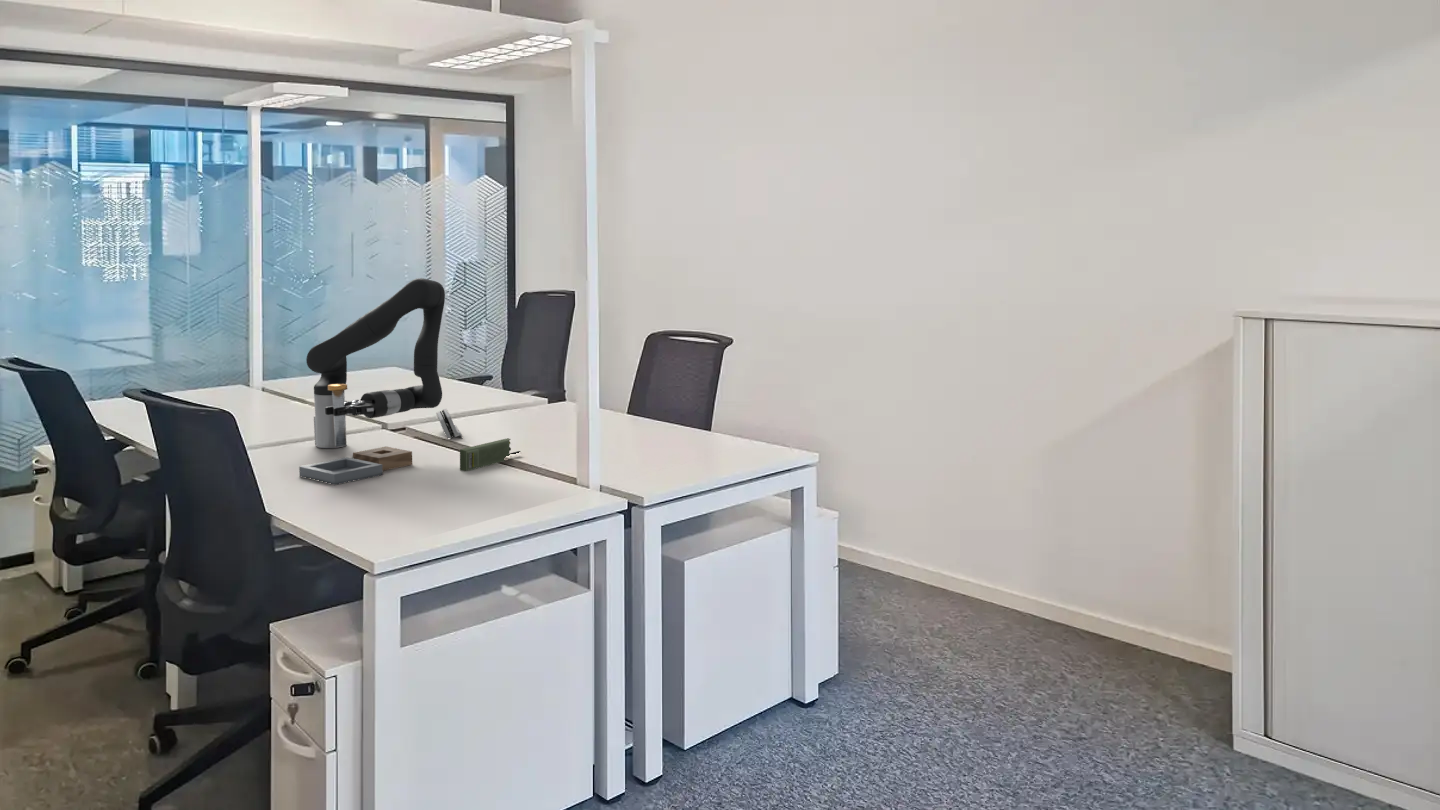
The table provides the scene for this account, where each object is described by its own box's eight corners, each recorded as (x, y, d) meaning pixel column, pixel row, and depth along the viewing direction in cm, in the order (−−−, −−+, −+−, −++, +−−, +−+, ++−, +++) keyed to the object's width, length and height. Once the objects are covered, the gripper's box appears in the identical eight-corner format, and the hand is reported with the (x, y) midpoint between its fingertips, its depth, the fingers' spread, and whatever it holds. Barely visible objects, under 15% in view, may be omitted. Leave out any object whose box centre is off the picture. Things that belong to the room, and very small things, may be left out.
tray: (299, 476, 304) (299, 466, 303) (347, 467, 317) (347, 457, 316) (334, 485, 295) (334, 474, 294) (382, 474, 308) (382, 464, 307)
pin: (327, 445, 303) (323, 385, 301) (343, 442, 308) (339, 383, 305) (338, 447, 301) (335, 387, 298) (354, 444, 305) (351, 384, 302)
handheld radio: (457, 470, 315) (515, 456, 336) (466, 472, 313) (523, 457, 335) (458, 448, 314) (515, 435, 335) (466, 450, 312) (523, 436, 333)
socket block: (353, 465, 318) (352, 452, 318) (386, 459, 328) (386, 446, 327) (379, 471, 311) (378, 458, 311) (412, 464, 321) (412, 451, 321)
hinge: (463, 438, 362) (452, 411, 359) (449, 443, 360) (438, 416, 358) (457, 429, 377) (447, 403, 374) (445, 434, 376) (434, 408, 373)
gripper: (364, 389, 317) (313, 396, 303) (395, 393, 310) (344, 400, 296) (366, 413, 319) (315, 422, 305) (397, 418, 311) (346, 427, 297)
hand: (330, 411), depth 300 cm, fingers closed on pin, 3 cm apart
